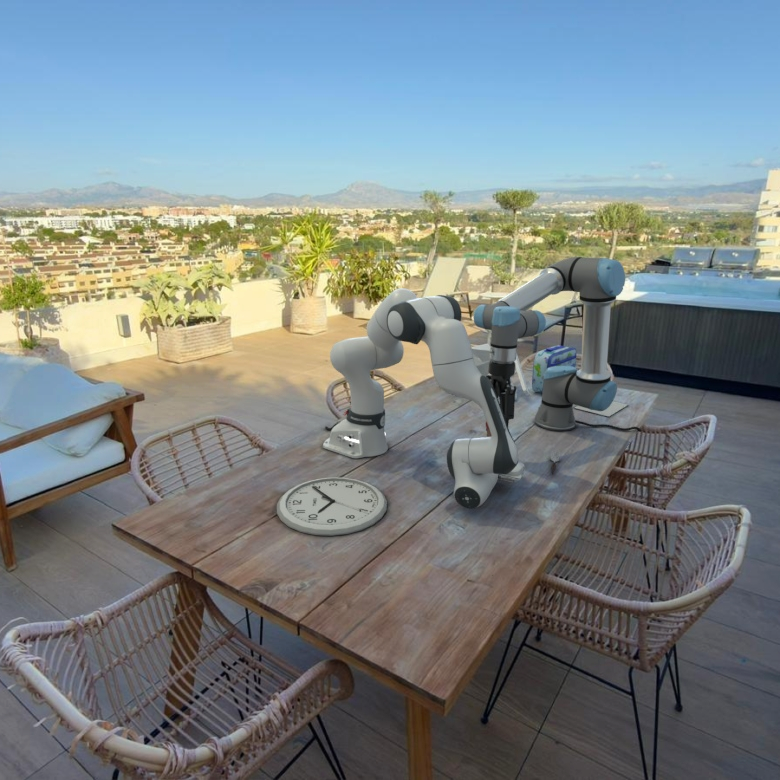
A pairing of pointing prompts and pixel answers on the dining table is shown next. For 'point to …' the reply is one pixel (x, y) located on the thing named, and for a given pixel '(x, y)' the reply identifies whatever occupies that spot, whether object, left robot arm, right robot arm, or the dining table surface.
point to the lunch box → (551, 363)
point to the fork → (554, 461)
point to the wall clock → (331, 506)
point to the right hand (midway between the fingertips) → (496, 434)
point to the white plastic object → (482, 364)
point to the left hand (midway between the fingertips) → (494, 455)
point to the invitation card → (609, 411)
